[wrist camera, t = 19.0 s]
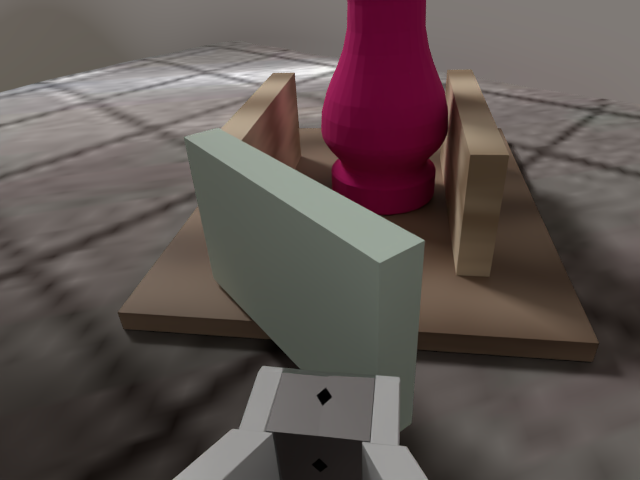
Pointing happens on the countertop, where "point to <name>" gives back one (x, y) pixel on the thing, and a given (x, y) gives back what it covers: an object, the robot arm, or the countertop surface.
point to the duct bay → (426, 222)
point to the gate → (309, 263)
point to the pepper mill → (385, 108)
